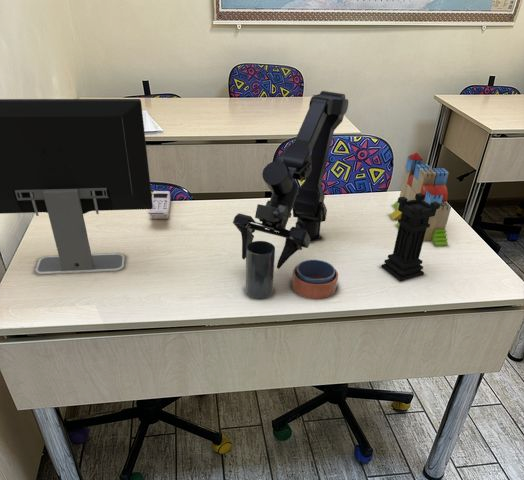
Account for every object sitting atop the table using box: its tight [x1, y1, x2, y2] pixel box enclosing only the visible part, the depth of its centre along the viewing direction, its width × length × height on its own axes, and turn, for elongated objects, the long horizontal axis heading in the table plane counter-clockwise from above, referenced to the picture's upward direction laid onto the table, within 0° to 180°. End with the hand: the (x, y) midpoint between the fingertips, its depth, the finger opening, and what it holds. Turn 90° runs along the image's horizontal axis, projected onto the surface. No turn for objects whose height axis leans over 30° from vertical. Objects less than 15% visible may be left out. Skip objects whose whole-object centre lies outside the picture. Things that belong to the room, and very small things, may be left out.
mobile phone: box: [146, 190, 171, 220], centre depth 158 cm, size 6×6×25 cm
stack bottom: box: [291, 263, 339, 300], centre depth 129 cm, size 11×11×4 cm
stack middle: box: [296, 259, 336, 284], centre depth 129 cm, size 10×10×5 cm
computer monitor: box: [0, 98, 153, 275], centre depth 122 cm, size 41×8×40 cm, turn 98°
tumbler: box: [245, 240, 276, 300], centre depth 124 cm, size 7×7×12 cm
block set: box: [389, 152, 452, 247], centre depth 153 cm, size 28×14×19 cm, turn 7°
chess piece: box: [380, 193, 440, 282], centre depth 131 cm, size 8×8×20 cm
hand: (260, 263), depth 123 cm, fingers open, 9 cm apart
